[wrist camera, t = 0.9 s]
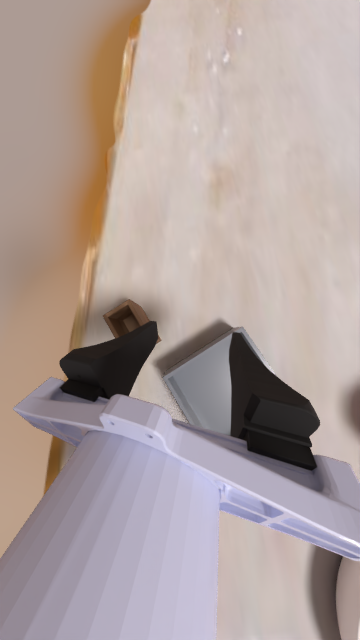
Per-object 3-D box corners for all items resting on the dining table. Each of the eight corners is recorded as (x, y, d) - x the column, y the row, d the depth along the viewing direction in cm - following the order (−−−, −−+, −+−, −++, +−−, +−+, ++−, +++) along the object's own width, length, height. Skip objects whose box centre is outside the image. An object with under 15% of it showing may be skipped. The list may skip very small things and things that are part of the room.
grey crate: (217, 455, 25) (223, 481, 21) (166, 370, 27) (162, 377, 23) (288, 408, 25) (310, 424, 21) (233, 327, 27) (242, 326, 23)
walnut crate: (139, 354, 28) (127, 359, 22) (120, 319, 29) (102, 315, 23) (161, 340, 28) (154, 341, 22) (141, 306, 29) (129, 299, 23)
